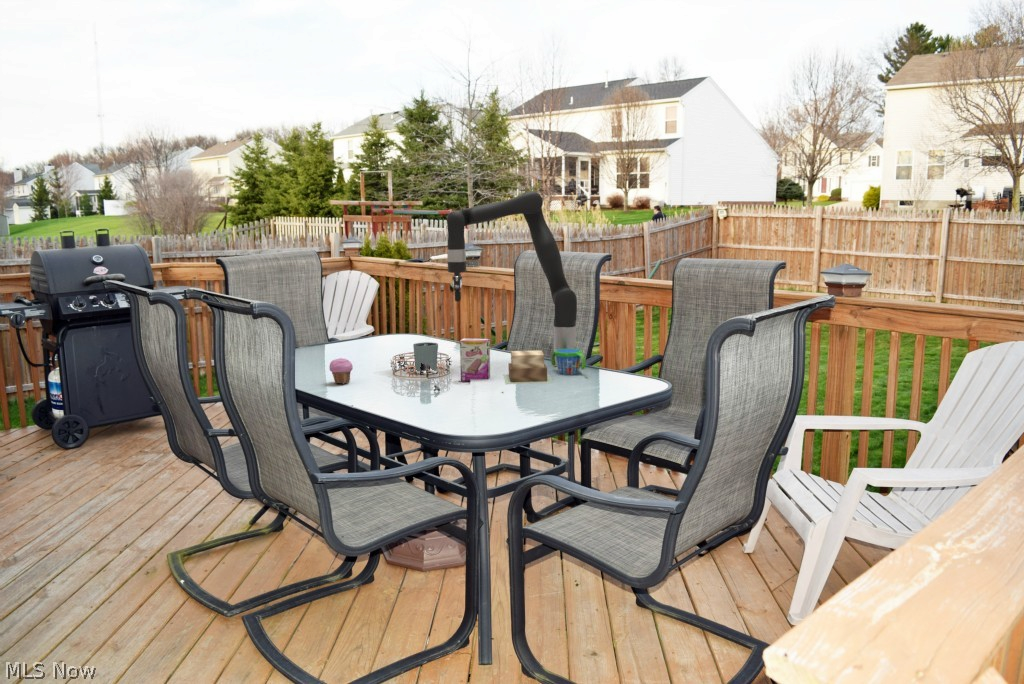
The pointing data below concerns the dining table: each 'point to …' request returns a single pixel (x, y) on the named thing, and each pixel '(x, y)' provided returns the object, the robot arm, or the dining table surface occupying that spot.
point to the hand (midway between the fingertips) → (458, 300)
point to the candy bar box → (474, 359)
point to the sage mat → (507, 381)
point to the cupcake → (341, 370)
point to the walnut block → (527, 374)
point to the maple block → (527, 359)
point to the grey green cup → (426, 355)
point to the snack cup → (568, 361)
